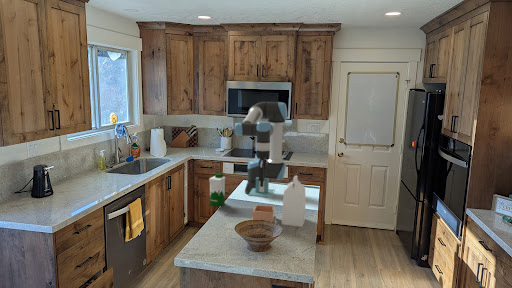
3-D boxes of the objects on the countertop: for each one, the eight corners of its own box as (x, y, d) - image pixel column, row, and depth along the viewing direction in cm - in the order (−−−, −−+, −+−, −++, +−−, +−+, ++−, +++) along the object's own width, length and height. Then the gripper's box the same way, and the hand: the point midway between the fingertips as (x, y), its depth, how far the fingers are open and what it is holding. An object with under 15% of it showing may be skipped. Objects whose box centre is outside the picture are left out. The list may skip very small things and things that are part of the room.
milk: (302, 226, 191) (304, 180, 187) (281, 224, 194) (283, 178, 190) (305, 219, 202) (307, 175, 198) (285, 216, 205) (287, 173, 201)
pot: (255, 216, 206) (255, 204, 205) (274, 217, 204) (274, 206, 203) (252, 223, 195) (252, 211, 194) (272, 224, 193) (272, 212, 192)
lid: (252, 189, 205) (252, 174, 204) (274, 190, 203) (275, 176, 202) (248, 196, 192) (248, 180, 191) (272, 197, 190) (272, 181, 189)
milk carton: (226, 204, 225) (226, 173, 222) (220, 208, 217) (220, 177, 214) (214, 202, 228) (214, 172, 225) (207, 206, 220) (207, 175, 217)
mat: (230, 207, 218) (230, 206, 218) (255, 209, 216) (255, 208, 216) (224, 217, 203) (224, 216, 203) (251, 219, 200) (251, 218, 200)
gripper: (258, 147, 202) (257, 186, 205) (254, 151, 187) (253, 194, 190) (271, 147, 201) (270, 187, 204) (268, 152, 186) (266, 195, 189)
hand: (262, 191), depth 197 cm, fingers closed on lid, 2 cm apart
